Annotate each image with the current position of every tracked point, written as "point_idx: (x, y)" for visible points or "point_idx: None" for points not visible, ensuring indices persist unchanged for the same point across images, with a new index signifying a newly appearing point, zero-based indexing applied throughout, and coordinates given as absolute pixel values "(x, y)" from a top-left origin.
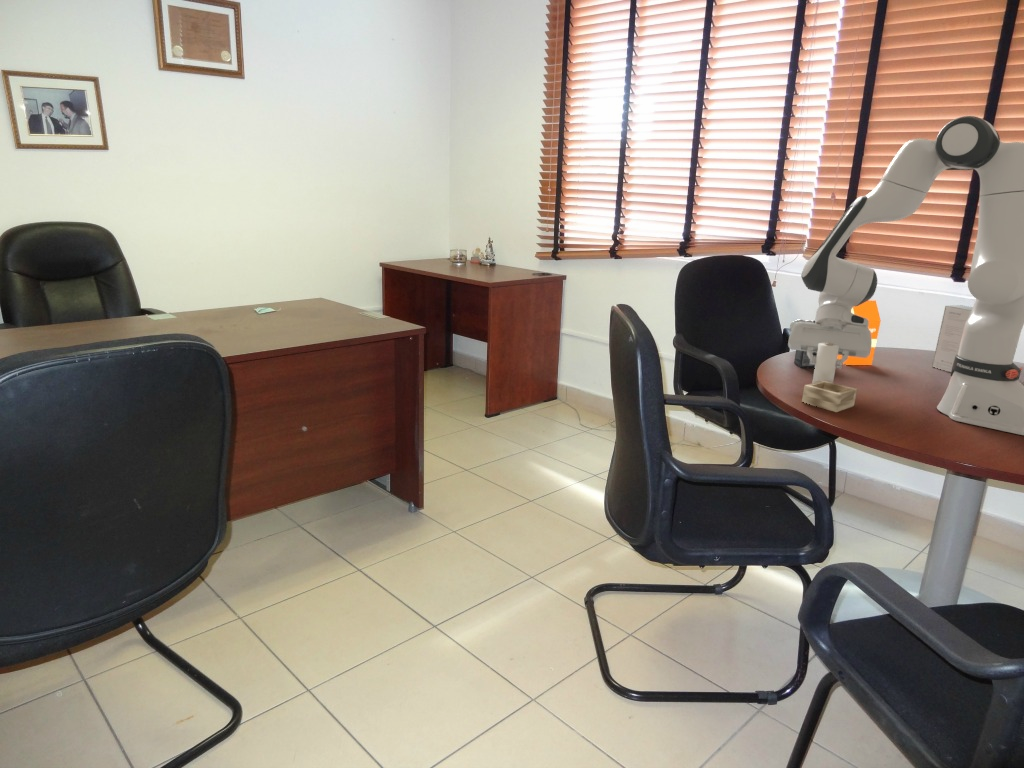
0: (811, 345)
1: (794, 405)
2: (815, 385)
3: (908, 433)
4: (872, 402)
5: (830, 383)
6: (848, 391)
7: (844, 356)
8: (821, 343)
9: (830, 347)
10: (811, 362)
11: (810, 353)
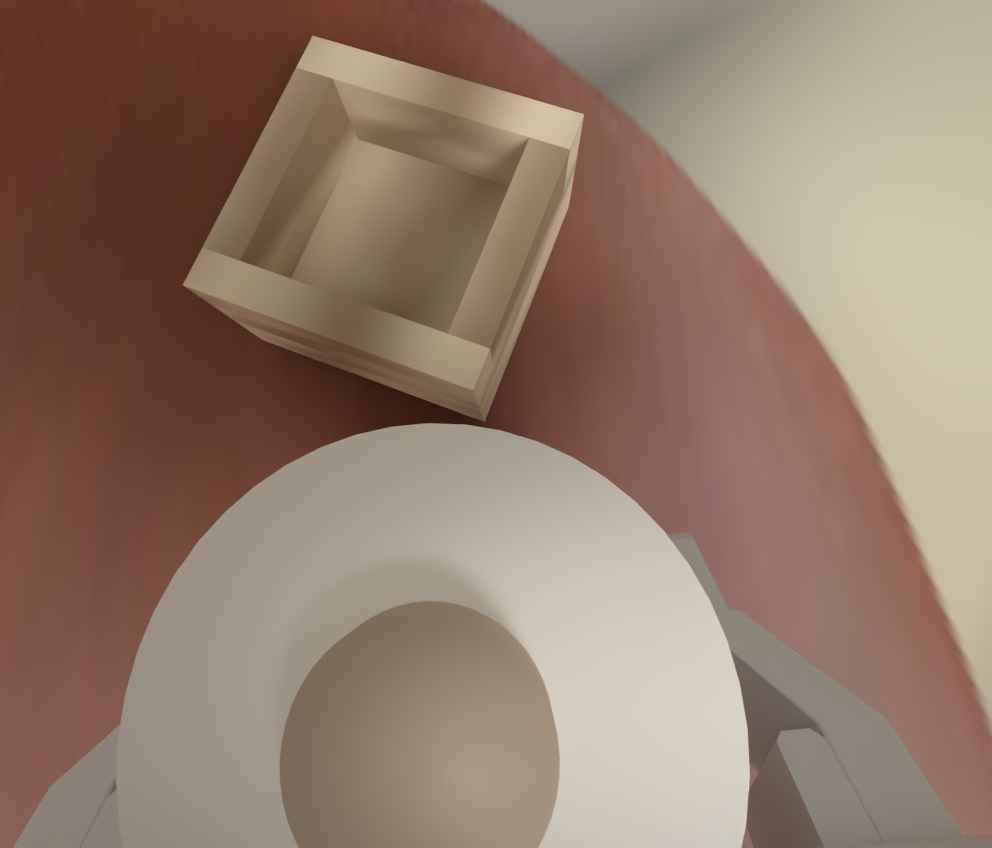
0: (904, 845)
1: (592, 120)
2: (507, 195)
3: (20, 35)
4: (142, 520)
5: (397, 316)
6: (251, 165)
7: None
8: (670, 829)
9: (362, 438)
10: None
11: (763, 651)
